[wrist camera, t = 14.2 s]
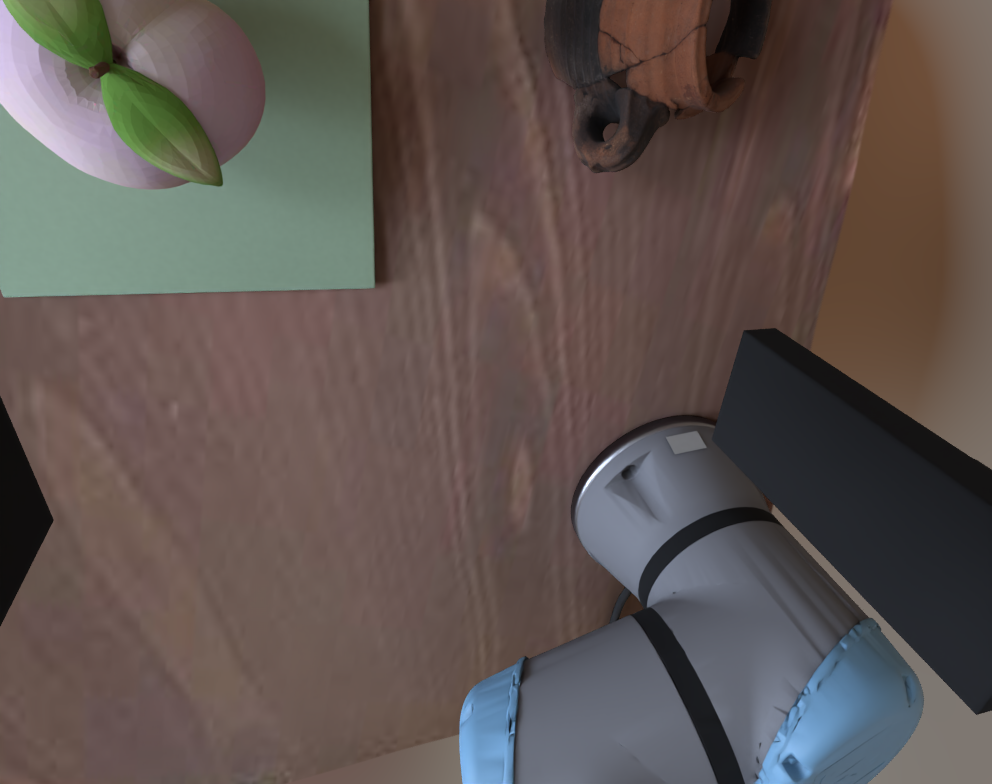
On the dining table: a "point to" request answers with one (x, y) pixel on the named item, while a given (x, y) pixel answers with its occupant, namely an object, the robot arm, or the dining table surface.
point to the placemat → (210, 209)
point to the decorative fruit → (132, 86)
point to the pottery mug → (645, 67)
